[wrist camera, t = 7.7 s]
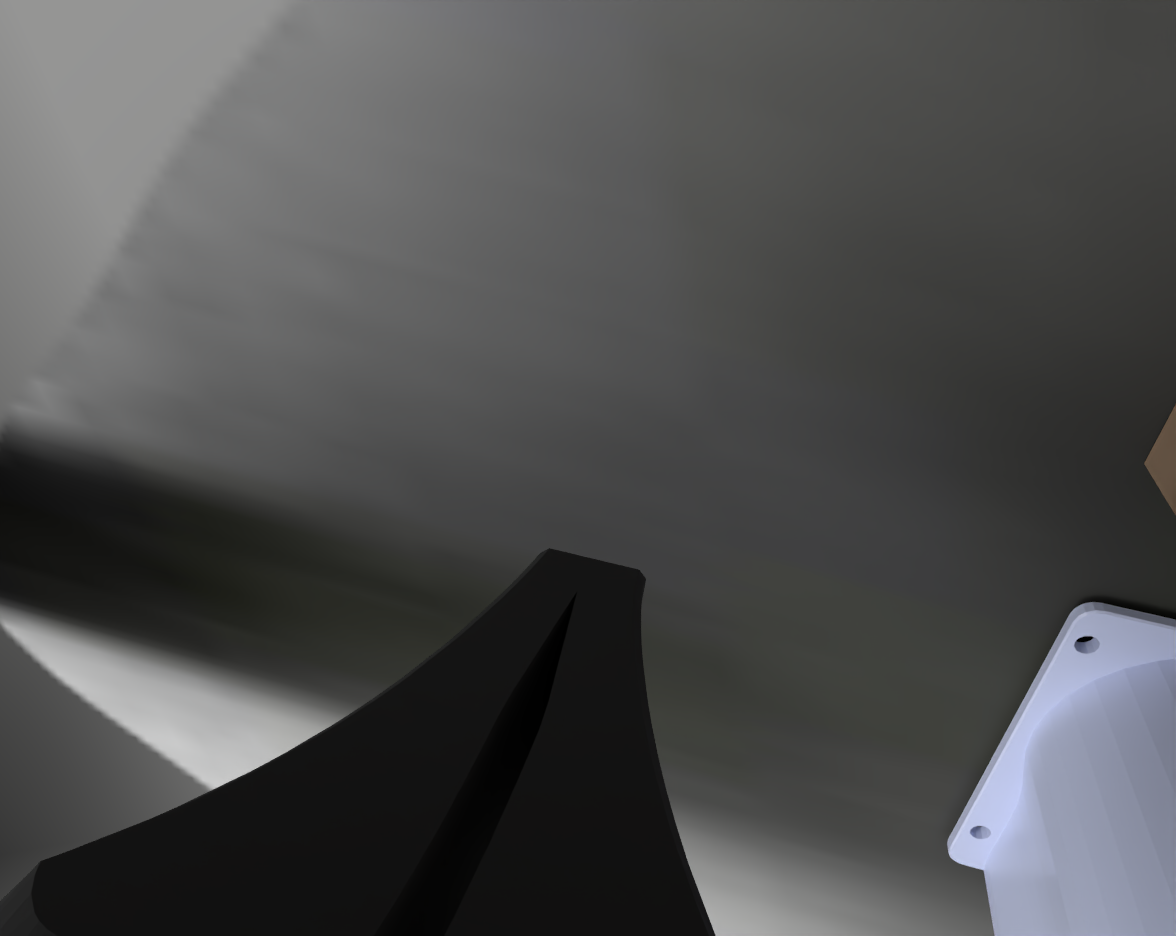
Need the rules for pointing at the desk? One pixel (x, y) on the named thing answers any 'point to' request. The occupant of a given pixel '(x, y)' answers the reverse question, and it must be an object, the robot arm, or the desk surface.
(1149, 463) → the hole board
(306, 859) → the robot arm
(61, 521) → the desk surface
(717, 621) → the desk surface
